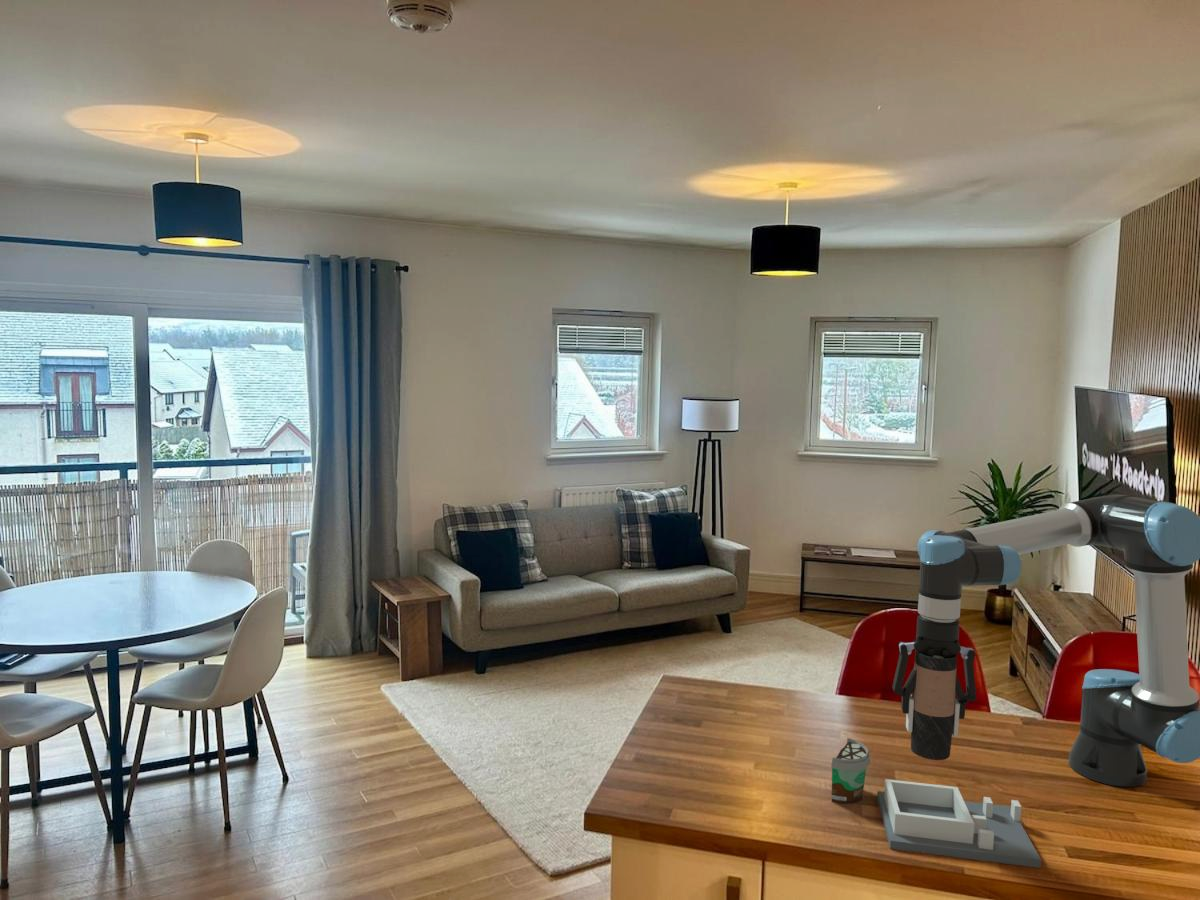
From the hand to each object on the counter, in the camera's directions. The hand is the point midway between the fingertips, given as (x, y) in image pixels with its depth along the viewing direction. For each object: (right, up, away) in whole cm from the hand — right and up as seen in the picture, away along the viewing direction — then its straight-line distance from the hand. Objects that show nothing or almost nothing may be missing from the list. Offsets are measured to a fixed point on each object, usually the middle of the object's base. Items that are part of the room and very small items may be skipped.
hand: (931, 731), depth 161 cm
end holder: (0, -18, +2) cm, 18 cm away
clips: (+12, -19, -2) cm, 22 cm away
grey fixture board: (+5, -20, +1) cm, 20 cm away
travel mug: (0, -4, 0) cm, 4 cm away
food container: (-11, -18, +13) cm, 25 cm away
